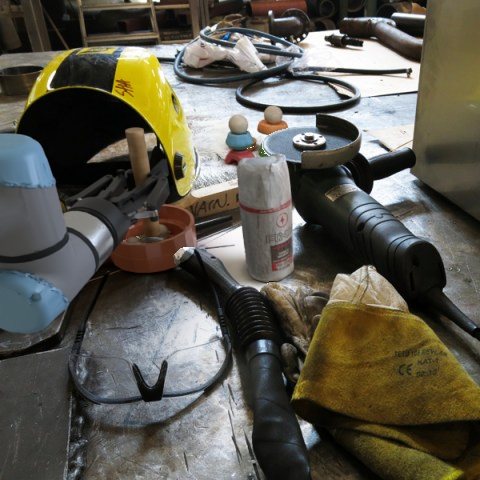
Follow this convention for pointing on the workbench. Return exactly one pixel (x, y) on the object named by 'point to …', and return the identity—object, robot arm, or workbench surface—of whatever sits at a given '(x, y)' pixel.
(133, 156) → the stick
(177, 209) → the bowl
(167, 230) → the bead
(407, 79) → the workbench surface
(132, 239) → the bead
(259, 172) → the spray can
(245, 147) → the multicoloured wooden toy
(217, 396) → the workbench surface
